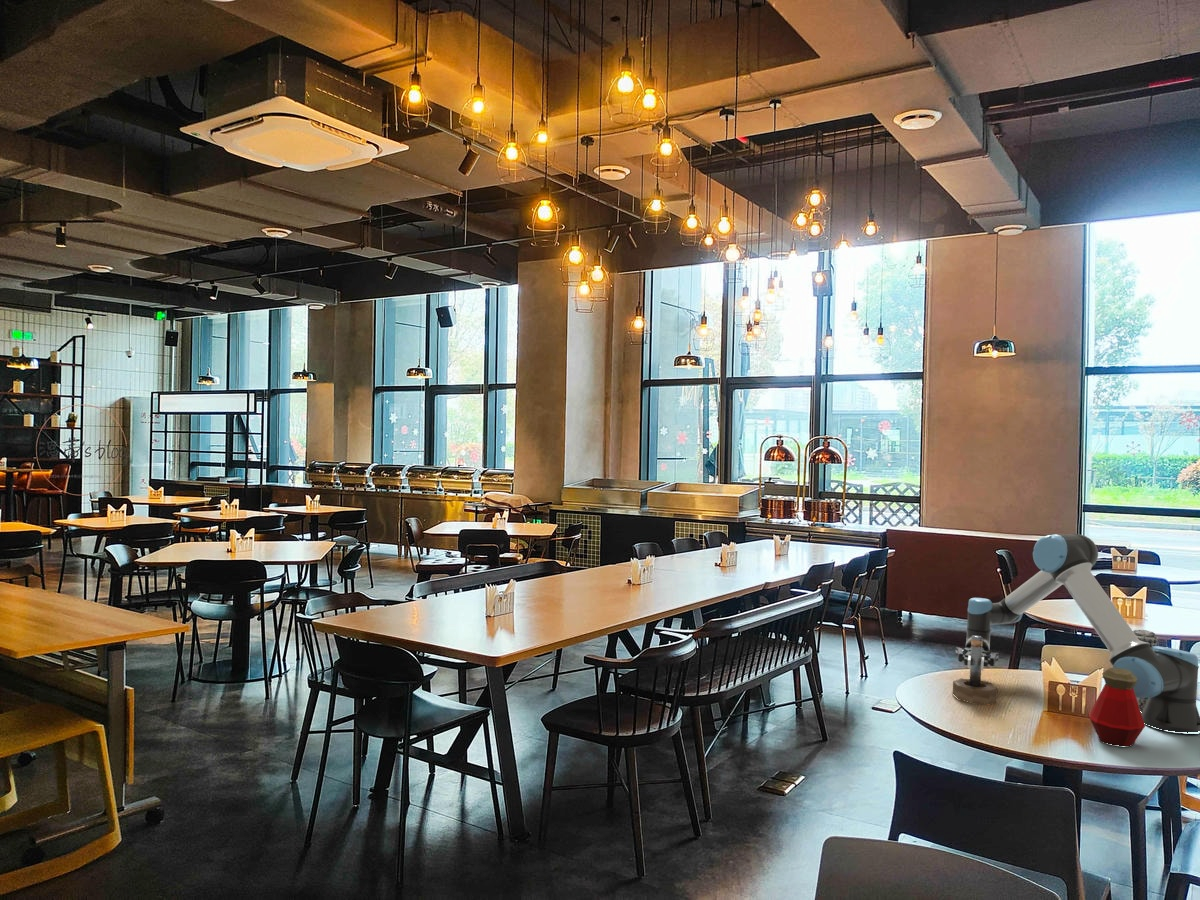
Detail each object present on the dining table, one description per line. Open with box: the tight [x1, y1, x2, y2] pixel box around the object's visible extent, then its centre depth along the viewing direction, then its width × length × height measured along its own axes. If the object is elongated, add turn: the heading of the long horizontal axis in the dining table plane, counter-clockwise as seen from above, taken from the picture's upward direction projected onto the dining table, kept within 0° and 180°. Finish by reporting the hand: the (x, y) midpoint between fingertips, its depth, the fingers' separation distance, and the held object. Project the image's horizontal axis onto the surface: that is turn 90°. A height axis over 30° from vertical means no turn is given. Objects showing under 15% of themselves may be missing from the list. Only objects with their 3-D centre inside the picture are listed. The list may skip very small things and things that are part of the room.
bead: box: [952, 678, 998, 705], centre depth 270 cm, size 12×12×4 cm
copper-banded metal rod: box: [969, 635, 983, 688], centre depth 270 cm, size 3×3×18 cm
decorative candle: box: [1132, 629, 1159, 712], centre depth 264 cm, size 9×9×25 cm
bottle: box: [1088, 667, 1146, 747], centre depth 234 cm, size 16×14×20 cm
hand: (975, 665), depth 265 cm, fingers closed on copper-banded metal rod, 3 cm apart
